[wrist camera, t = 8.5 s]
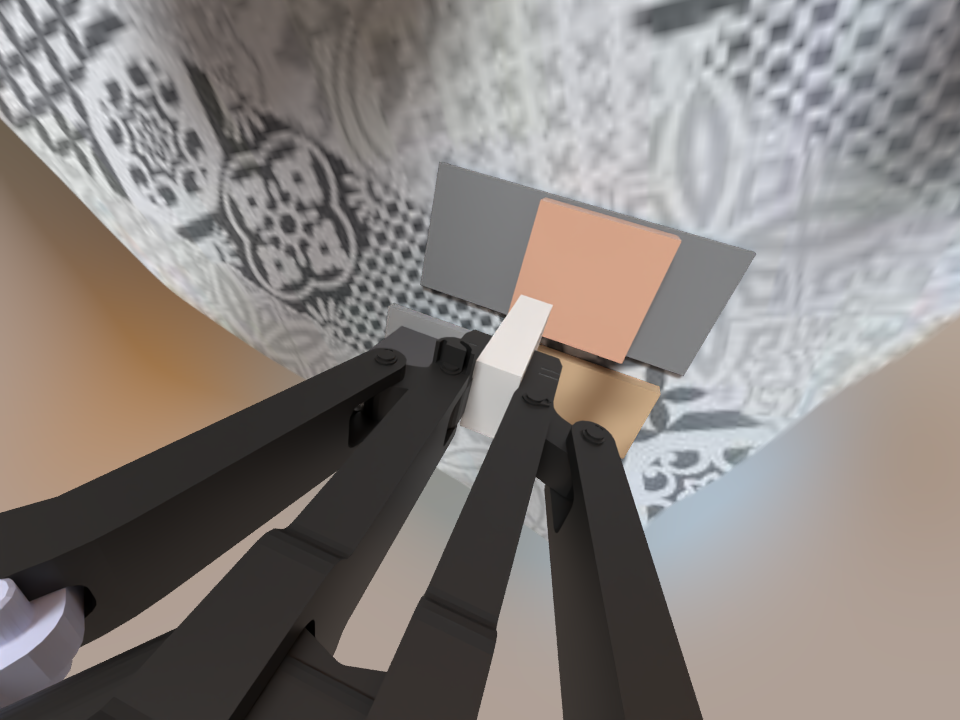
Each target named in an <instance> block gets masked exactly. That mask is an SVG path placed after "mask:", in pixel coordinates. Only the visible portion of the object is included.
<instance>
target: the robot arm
mask: <svg viewBox="0 0 960 720" xmlns="http://www.w3.org/2000/svg"><path fill="white" fill-rule="evenodd" d="M552 306H553V305H551V304H548V303H545V302H542V301H539V300H536V299H533V298H530V297H527V296H524V295H520V297H519V298H518V300H517V301H516V303H515V304H514V306H513V307H512V309H511V310H510V312H509V313H508V315H507V316H506V318H505V319H504V320H503V322H502V323H501V325H500V326H499V328H498V329H497V331H496V332H495V334H494V335H493V336H491V335H488V334H485V333H482V332H479V331H477V330H473V331H470V332H467V333H465V334H464V336H463V337H462V338H461V339H460V338H456V337H443V338H440V339H438V340H437V341H436V345H435V351H434V356H433V361H432V363H431V364H430V365H429V366H428V367H418V366H412V365H406V362H407V359H406V357H405V355H403V354H402V353H401V352H399V351H397V350H394V349H391V348H376V349H372V350H370V351H367V352H365V353H363V354H361V355H359V356H357V357H355V358H353V359H350V360H348V361H346V362H344V363H342V364H340V365H338V366H335V367H333V368H331V369H329V370H327V371H325V372H323V373H320V374H318V375H316V376H314V377H312V378H310V379H308V380H306V381H303V382H301V383H299V384H297V385H295V386H293V387H291V388H288V389H286V390H284V391H282V392H280V393H278V394H276V395H274V396H272V397H269V398H267V399H265V400H263V401H261V402H259V403H256V404H255V405H252V406H250V407H248V408H246V409H244V410H242V411H239V412H237V413H235V414H233V415H231V416H229V417H227V418H224V419H222V420H220V421H218V422H216V423H214V424H212V425H210V426H207V427H205V428H203V429H201V430H199V431H197V432H195V433H192V434H190V435H188V436H186V437H184V438H182V439H180V440H177V441H175V442H173V443H171V444H169V445H167V446H165V447H162V448H160V449H158V450H156V451H154V452H152V453H150V454H148V455H145V456H143V457H141V458H139V459H137V460H135V461H133V462H130V463H128V464H126V465H124V466H122V467H120V468H118V469H116V470H113V471H111V472H109V473H107V474H105V475H103V476H100V477H99V478H96V479H95V480H92V481H90V482H88V483H86V484H83V485H81V486H79V487H77V488H75V489H73V490H71V491H68V492H66V493H64V494H62V495H60V496H58V497H55V498H51V499H48V500H44V501H41V502H37V503H33V504H30V505H26V506H23V507H20V508H16V509H12V510H9V511H6V512H2V513H0V720H477V716H478V712H479V708H480V704H481V700H482V696H483V692H484V688H485V685H486V680H487V677H488V673H489V669H490V665H491V660H492V657H493V653H494V648H495V643H496V638H497V631H496V627H497V622H498V618H499V614H500V610H501V606H502V603H503V599H504V595H505V591H506V587H507V584H508V580H509V576H510V572H511V568H512V564H513V561H514V557H515V553H516V549H517V545H518V542H519V538H520V533H521V530H522V526H523V523H524V519H525V515H526V511H527V507H528V503H529V500H530V496H531V492H532V488H533V484H534V481H535V477H537V478H538V479H539V480H541V481H542V482H543V483H545V490H544V491H545V503H546V515H547V527H548V539H549V550H550V563H551V575H552V587H553V599H554V612H555V624H556V635H557V646H558V647H557V648H558V660H559V672H560V684H561V696H562V708H563V720H703V718H702V714H701V711H700V708H699V705H698V702H697V699H696V695H695V692H694V689H693V686H692V683H691V680H690V677H689V673H688V670H687V667H686V664H685V661H684V657H683V654H682V651H681V648H680V645H679V642H678V639H677V635H676V633H675V629H674V626H673V623H672V620H671V617H670V614H669V610H668V607H667V604H666V601H665V597H664V595H663V591H662V588H661V585H660V582H659V578H658V575H657V572H656V569H655V566H654V563H653V560H652V556H651V553H650V550H649V547H648V544H647V541H646V538H645V534H644V531H643V528H642V525H641V521H640V518H639V515H638V512H637V509H636V506H635V502H634V499H633V496H632V493H631V490H630V487H629V483H628V480H627V477H626V474H625V471H624V468H623V465H622V461H621V458H620V455H619V452H618V449H617V446H616V442H615V440H614V438H613V436H612V434H611V433H610V432H609V431H608V430H606V429H605V428H604V427H602V426H600V425H599V424H597V423H594V422H591V421H583V420H582V421H578V422H575V423H574V424H573V425H572V424H570V423H569V422H567V421H566V420H564V419H563V418H562V417H561V416H560V415H559V414H558V413H557V412H556V410H555V409H554V402H553V401H554V397H555V394H556V390H557V386H558V382H559V378H560V374H561V371H562V367H563V366H562V364H561V362H560V359H559V358H556V357H553V356H551V355H548V354H545V353H542V352H539V351H537V349H538V346H539V343H540V341H541V338H542V335H543V332H544V329H545V326H546V323H547V321H548V318H549V315H550V312H551V309H552ZM461 417H462V418H461ZM460 419H461V422H460V426H463V427H465V428H468V429H470V430H473V431H475V432H478V433H480V434H483V435H486V436H488V437H491V438H493V441H492V443H491V446H490V448H489V450H488V452H487V455H486V457H485V459H484V462H483V464H482V466H481V468H480V471H479V473H478V475H477V477H476V480H475V482H474V484H473V486H472V489H471V491H470V493H469V495H468V498H467V500H466V503H465V505H464V507H463V509H462V511H461V514H460V516H459V518H458V520H457V523H456V525H455V527H454V529H453V532H452V534H451V536H450V539H449V541H448V543H447V545H446V548H445V550H444V552H443V554H442V557H441V559H440V561H439V564H438V566H437V568H436V570H435V573H434V575H433V577H432V579H431V582H430V584H429V586H428V588H427V590H426V592H425V594H424V596H422V597H421V599H420V601H419V603H418V605H417V607H416V609H415V611H414V614H413V616H412V618H411V620H410V622H409V624H408V627H407V629H406V631H405V633H404V636H403V638H402V640H401V642H400V645H399V647H398V649H397V651H396V654H395V656H394V658H393V660H392V662H391V665H390V667H389V669H388V671H387V672H383V671H377V670H370V669H363V668H357V667H351V666H345V665H342V664H340V663H339V662H338V661H336V659H335V658H334V657H333V655H334V653H335V650H336V648H337V645H338V643H339V640H340V637H341V635H342V632H343V630H344V628H345V626H346V624H347V622H348V620H349V618H350V617H351V615H352V613H353V611H354V610H355V608H356V606H357V604H358V603H359V601H360V599H361V597H362V595H363V594H364V592H365V590H366V589H367V587H368V585H369V583H370V582H371V580H372V578H373V576H374V575H375V573H376V571H377V569H378V568H379V566H380V564H381V562H382V561H383V559H384V557H385V555H386V554H387V552H388V550H389V548H390V546H391V545H392V543H393V541H394V540H395V538H396V536H397V535H398V533H399V531H400V529H401V527H402V526H403V524H404V522H405V520H406V519H407V517H408V515H409V514H410V512H411V510H412V508H413V507H414V505H415V503H416V501H417V500H418V498H419V496H420V494H421V493H422V491H423V489H424V487H425V486H426V484H427V482H428V480H429V479H430V477H431V475H432V473H433V472H434V470H435V468H436V466H437V465H438V463H439V461H440V460H441V458H442V456H443V454H444V453H445V451H446V449H447V447H448V446H449V444H450V442H451V440H452V439H453V437H454V435H455V432H456V428H457V424H458V422H459V420H460ZM337 470H338V471H337ZM336 471H337V472H336ZM335 472H336V473H335ZM333 473H335V474H334V475H333V477H332V478H331V479H330V480H329V481H328V482H327V483H326V485H325V486H324V487H323V488H322V489H321V490H320V491H319V493H318V494H317V495H316V496H315V497H314V498H313V499H312V500H311V502H310V503H309V504H308V505H307V506H306V507H305V509H304V510H303V511H302V512H301V513H300V514H299V515H298V517H297V518H296V519H295V520H294V521H293V522H292V523H291V524H290V525H289V526H288V527H286V528H285V529H273V530H271V531H269V532H267V533H265V534H264V535H263V536H262V537H261V538H260V539H259V540H258V541H257V542H256V543H255V544H254V545H253V546H252V547H251V548H250V549H249V551H247V553H246V554H245V555H244V556H243V557H242V558H241V559H240V560H239V561H238V562H237V564H235V566H234V567H233V568H232V569H231V570H230V571H229V572H228V573H227V574H226V575H225V576H224V578H223V579H222V580H221V581H220V582H219V583H218V584H217V585H216V586H215V587H214V588H213V589H212V591H211V592H210V593H209V594H208V595H207V596H206V597H205V598H204V599H203V600H202V601H201V602H200V604H199V605H198V606H197V607H196V608H195V609H194V610H193V611H192V612H191V613H190V614H189V616H188V617H187V618H186V619H185V620H184V621H183V622H182V623H181V624H180V625H179V626H178V628H176V629H174V630H171V631H169V632H167V633H165V634H163V635H160V636H158V637H156V638H154V639H152V640H150V641H147V642H145V643H143V644H141V645H139V646H137V647H134V648H132V649H130V650H128V651H126V652H123V653H122V654H119V655H117V656H115V657H113V658H110V659H108V660H106V661H104V662H102V663H100V664H97V665H95V666H93V667H91V668H89V669H87V670H84V671H82V672H80V673H78V674H76V675H73V676H71V677H69V678H67V679H65V680H63V679H64V678H65V677H66V675H67V674H68V672H69V671H70V669H71V665H72V659H73V658H74V656H75V655H76V653H77V651H78V649H79V648H80V647H82V646H83V645H85V644H88V643H89V642H92V641H93V640H95V639H97V638H99V637H101V636H103V635H105V634H106V633H108V632H110V631H112V630H113V629H115V628H117V627H119V626H120V625H122V624H124V623H125V622H127V621H129V620H130V619H132V618H134V617H136V616H137V615H138V614H140V613H141V612H143V611H144V610H146V609H147V608H149V607H150V606H152V605H153V604H155V603H156V602H158V601H159V600H161V599H162V598H163V597H165V596H166V595H168V594H169V593H170V592H172V591H173V590H175V589H176V588H177V587H178V586H180V585H181V584H183V583H184V582H185V581H187V580H188V579H190V578H191V577H192V576H194V575H195V574H196V573H198V572H199V571H201V570H202V569H203V568H205V567H206V566H207V565H209V564H210V563H212V562H213V561H214V560H215V559H217V558H218V557H220V556H221V555H222V554H224V553H225V552H226V551H228V550H229V549H231V548H232V547H233V546H235V545H236V544H237V543H239V542H240V541H241V540H243V539H244V538H246V537H247V536H248V535H250V534H251V533H253V532H254V531H255V530H256V529H258V528H259V527H261V526H262V525H263V524H265V523H266V522H268V521H269V520H270V519H272V518H273V517H274V516H276V515H277V514H278V513H280V512H281V511H283V510H284V509H285V508H287V507H288V506H289V505H291V504H292V503H294V502H295V501H296V500H298V499H299V498H300V497H302V496H303V495H305V494H306V493H307V492H309V491H310V490H311V489H312V488H314V487H315V486H317V485H318V484H320V483H321V482H322V481H324V480H325V479H326V478H328V477H329V476H330V475H332V474H333Z"/></svg>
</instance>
